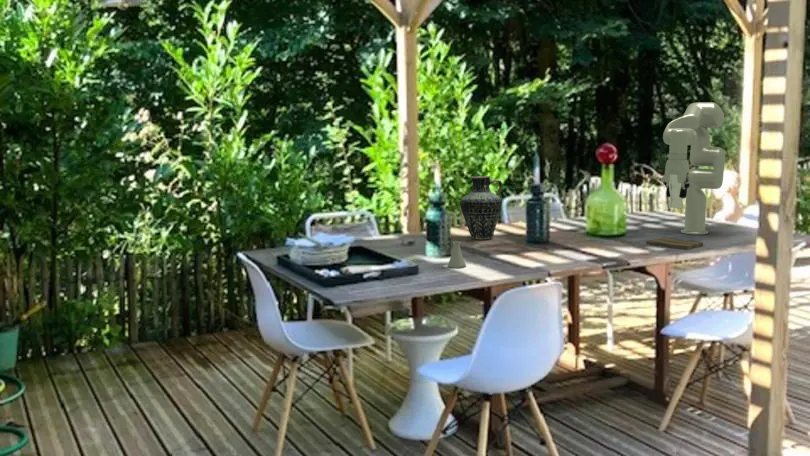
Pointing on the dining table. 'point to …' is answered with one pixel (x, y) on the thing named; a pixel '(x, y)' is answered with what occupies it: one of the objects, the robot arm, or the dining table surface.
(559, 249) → the dining table surface
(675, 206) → the beer glass
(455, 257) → the flask
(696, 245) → the serving board
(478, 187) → the jug
